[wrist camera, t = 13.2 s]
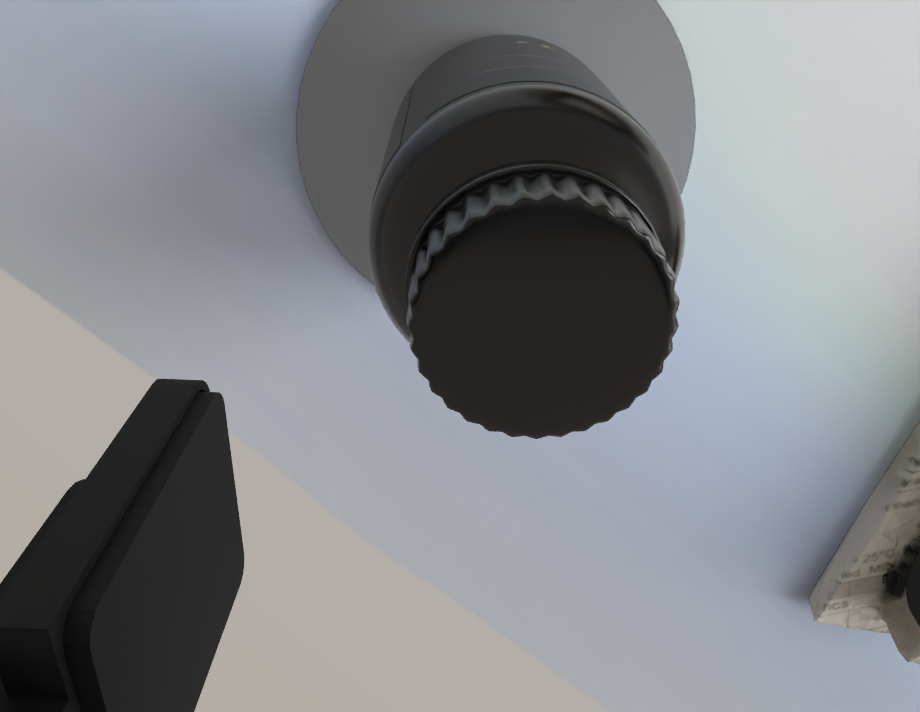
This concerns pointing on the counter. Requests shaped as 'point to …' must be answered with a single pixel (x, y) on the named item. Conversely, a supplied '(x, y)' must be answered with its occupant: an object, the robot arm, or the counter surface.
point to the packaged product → (878, 559)
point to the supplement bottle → (526, 239)
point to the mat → (433, 34)
